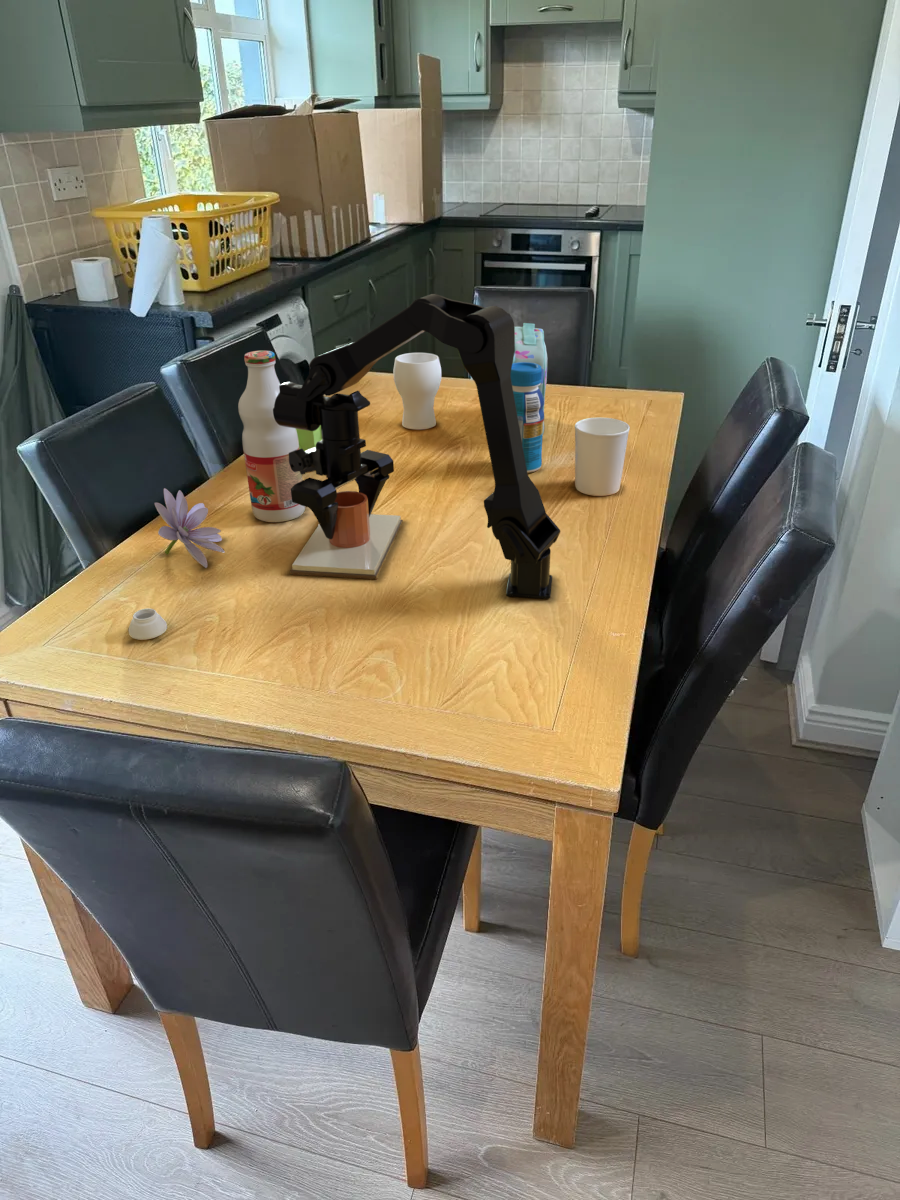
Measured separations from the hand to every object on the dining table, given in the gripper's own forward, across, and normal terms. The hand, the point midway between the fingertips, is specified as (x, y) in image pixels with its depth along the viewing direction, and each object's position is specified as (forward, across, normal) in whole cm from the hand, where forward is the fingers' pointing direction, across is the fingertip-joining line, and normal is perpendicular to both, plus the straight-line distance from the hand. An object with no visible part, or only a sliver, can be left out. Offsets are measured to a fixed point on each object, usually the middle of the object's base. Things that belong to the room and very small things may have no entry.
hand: (348, 527), depth 136 cm
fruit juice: (+4, -4, -20) cm, 20 cm away
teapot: (+4, -26, -33) cm, 42 cm away
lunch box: (+4, -68, -6) cm, 68 cm away
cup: (+4, -57, -26) cm, 63 cm away
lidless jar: (+4, +35, -7) cm, 36 cm away
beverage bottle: (+4, -46, +6) cm, 46 cm away
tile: (+4, 0, 0) cm, 4 cm away
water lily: (+4, +16, -19) cm, 25 cm away
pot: (+2, 0, 0) cm, 2 cm away
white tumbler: (+4, -44, +24) cm, 50 cm away
